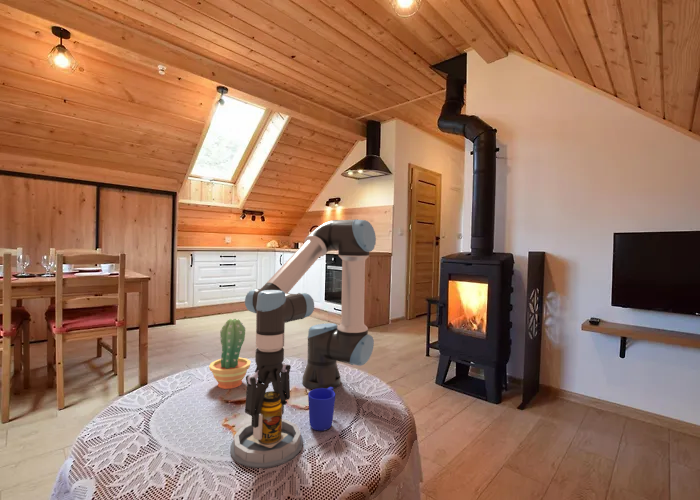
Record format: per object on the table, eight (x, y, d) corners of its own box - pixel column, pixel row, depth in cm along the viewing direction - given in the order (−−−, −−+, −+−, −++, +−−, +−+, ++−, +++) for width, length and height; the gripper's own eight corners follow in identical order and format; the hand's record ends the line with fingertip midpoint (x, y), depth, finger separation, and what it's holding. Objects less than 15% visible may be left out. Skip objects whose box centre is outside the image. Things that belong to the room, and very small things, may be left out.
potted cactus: (259, 382, 136) (260, 319, 135) (226, 396, 123) (227, 326, 122) (233, 373, 144) (234, 314, 144) (199, 385, 131) (201, 320, 131)
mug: (342, 416, 110) (343, 385, 110) (328, 436, 99) (329, 401, 99) (319, 412, 113) (320, 381, 113) (302, 430, 102) (303, 396, 101)
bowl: (293, 422, 106) (293, 412, 106) (310, 458, 88) (311, 446, 88) (228, 433, 99) (228, 423, 99) (233, 475, 81) (233, 462, 81)
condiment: (271, 448, 88) (272, 402, 88) (246, 439, 92) (247, 395, 92) (288, 435, 95) (289, 392, 95) (264, 427, 99) (265, 385, 98)
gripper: (287, 338, 103) (285, 414, 103) (230, 353, 88) (228, 442, 88) (304, 343, 98) (302, 423, 99) (248, 359, 83) (246, 454, 84)
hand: (267, 432), depth 93 cm, fingers closed on condiment, 6 cm apart
